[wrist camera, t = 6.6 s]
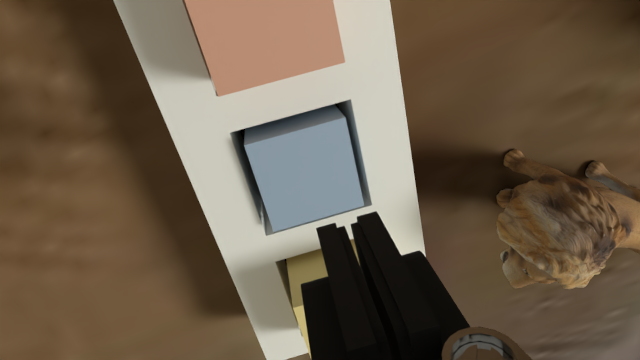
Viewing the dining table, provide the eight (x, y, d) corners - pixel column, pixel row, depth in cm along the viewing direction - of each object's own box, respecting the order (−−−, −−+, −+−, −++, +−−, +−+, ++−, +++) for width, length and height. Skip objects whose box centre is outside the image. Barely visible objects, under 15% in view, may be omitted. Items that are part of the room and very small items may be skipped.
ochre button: (285, 255, 21) (293, 308, 17) (364, 232, 21) (388, 279, 17) (306, 315, 23) (316, 374, 19) (378, 293, 23) (402, 347, 19)
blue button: (245, 120, 20) (244, 145, 16) (328, 97, 20) (345, 117, 16) (269, 194, 22) (273, 231, 18) (345, 172, 22) (364, 205, 18)
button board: (116, -63, 16) (78, -82, 13) (343, -119, 17) (368, -153, 13) (266, 314, 26) (268, 364, 22) (408, 271, 26) (433, 313, 23)
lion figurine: (436, 222, 25) (525, 325, 17) (455, 143, 23) (566, 218, 15) (627, 220, 28) (783, 308, 20) (659, 149, 26) (848, 216, 18)
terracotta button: (186, -39, 15) (165, -54, 11) (299, -67, 15) (314, -92, 11) (225, 77, 16) (218, 96, 13) (324, 50, 17) (345, 62, 13)
